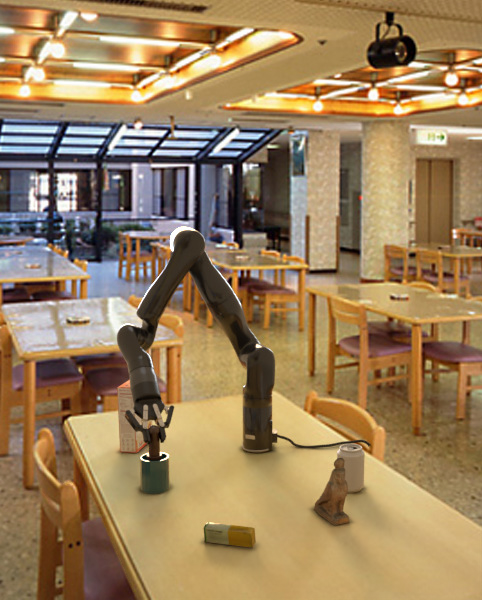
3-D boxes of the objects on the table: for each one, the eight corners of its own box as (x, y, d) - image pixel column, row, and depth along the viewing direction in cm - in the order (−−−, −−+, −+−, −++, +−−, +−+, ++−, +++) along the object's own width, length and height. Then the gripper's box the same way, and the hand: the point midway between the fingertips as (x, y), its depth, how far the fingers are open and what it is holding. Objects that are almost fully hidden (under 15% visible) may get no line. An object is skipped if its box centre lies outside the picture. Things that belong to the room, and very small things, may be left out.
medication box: (203, 542, 183) (202, 527, 182) (208, 536, 186) (207, 521, 185) (252, 548, 180) (251, 532, 179) (256, 542, 183) (255, 526, 182)
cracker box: (135, 438, 257) (134, 375, 254) (153, 439, 256) (152, 376, 253) (118, 452, 243) (116, 386, 240) (136, 453, 242) (135, 387, 239)
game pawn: (162, 455, 216) (162, 423, 215) (161, 460, 212) (160, 427, 211) (147, 455, 216) (147, 423, 214) (145, 461, 212) (145, 427, 210)
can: (368, 486, 219) (368, 444, 217) (357, 495, 212) (358, 452, 210) (343, 481, 222) (344, 440, 220) (331, 490, 215) (332, 448, 213)
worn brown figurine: (349, 531, 196) (358, 468, 190) (329, 534, 194) (337, 471, 188) (331, 504, 206) (339, 443, 200) (311, 507, 204) (319, 445, 198)
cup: (170, 482, 219) (170, 451, 218) (167, 493, 212) (167, 461, 210) (142, 483, 218) (142, 452, 217) (139, 494, 211) (138, 462, 210)
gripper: (120, 382, 214) (131, 439, 205) (172, 377, 221) (184, 432, 212) (117, 396, 220) (127, 452, 211) (167, 391, 226) (179, 445, 217)
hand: (155, 442), depth 211 cm, fingers closed on game pawn, 3 cm apart
